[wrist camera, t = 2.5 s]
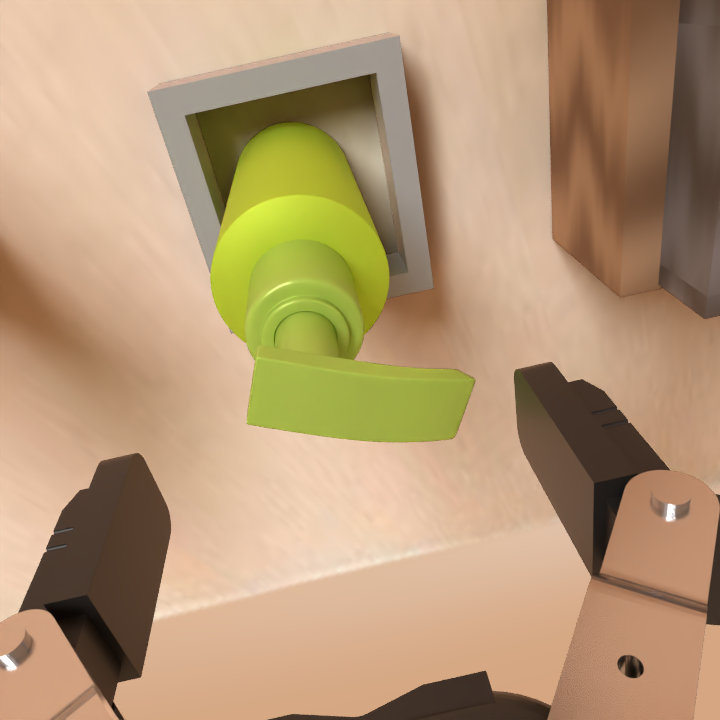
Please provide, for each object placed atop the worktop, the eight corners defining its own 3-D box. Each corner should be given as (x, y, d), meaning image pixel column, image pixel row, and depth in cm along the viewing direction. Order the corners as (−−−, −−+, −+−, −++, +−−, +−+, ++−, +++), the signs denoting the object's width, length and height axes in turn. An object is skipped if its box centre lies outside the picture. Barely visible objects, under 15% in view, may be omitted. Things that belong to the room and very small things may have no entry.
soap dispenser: (357, 248, 33) (438, 509, 16) (229, 227, 32) (171, 488, 15) (381, 139, 31) (510, 315, 13) (242, 110, 29) (189, 265, 12)
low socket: (159, 83, 28) (147, 91, 26) (388, 32, 28) (399, 35, 26) (234, 308, 34) (231, 333, 32) (422, 266, 34) (434, 288, 32)
